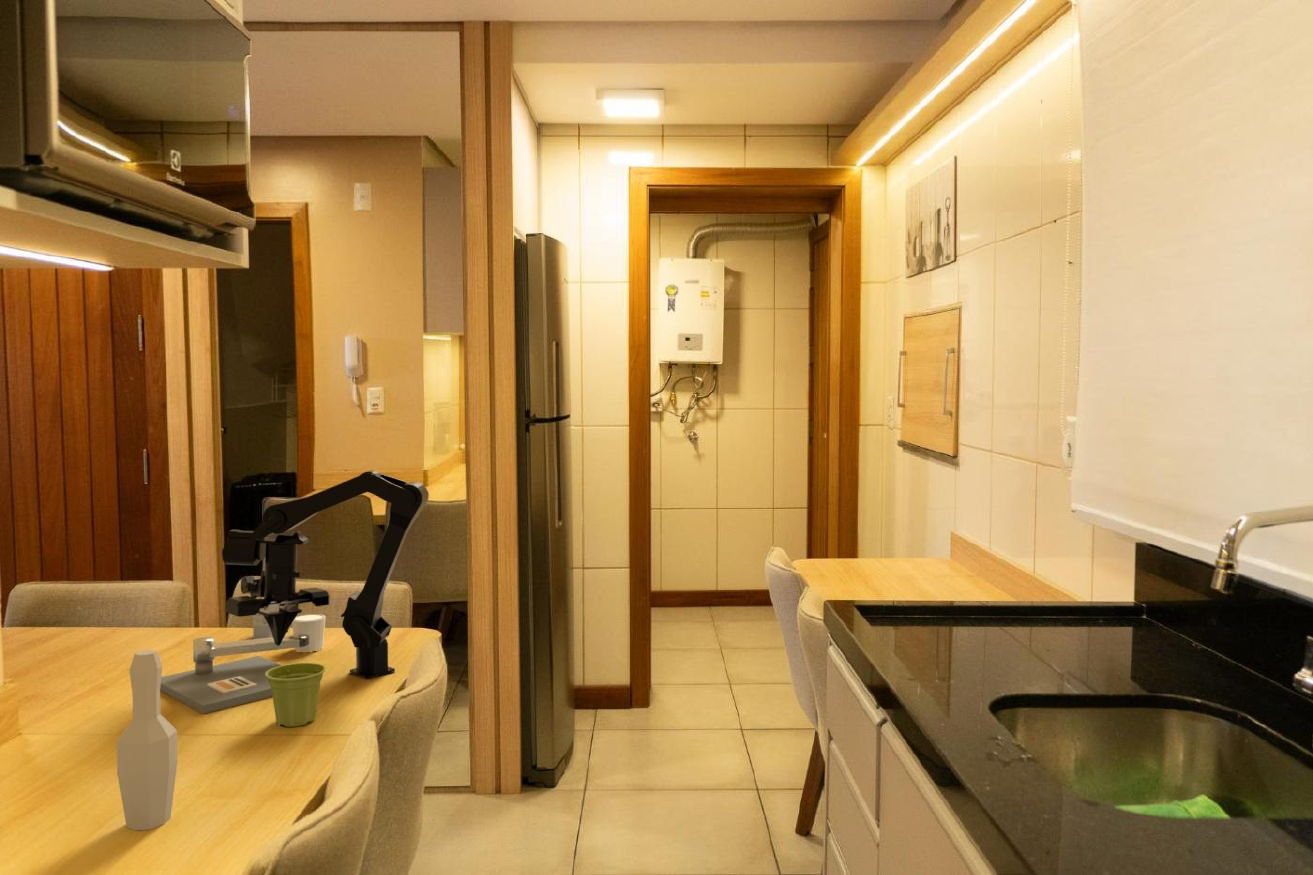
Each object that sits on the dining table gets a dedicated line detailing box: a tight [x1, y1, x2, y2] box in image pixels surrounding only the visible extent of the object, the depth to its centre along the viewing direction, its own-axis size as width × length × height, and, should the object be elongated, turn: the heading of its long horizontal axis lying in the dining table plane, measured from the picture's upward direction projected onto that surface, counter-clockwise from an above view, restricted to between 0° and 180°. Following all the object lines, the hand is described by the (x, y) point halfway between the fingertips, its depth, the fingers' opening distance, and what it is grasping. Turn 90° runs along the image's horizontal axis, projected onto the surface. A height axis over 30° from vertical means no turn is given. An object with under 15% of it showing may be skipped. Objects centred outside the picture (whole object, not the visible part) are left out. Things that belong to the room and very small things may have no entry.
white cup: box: [291, 613, 326, 653], centre depth 191 cm, size 7×7×7 cm
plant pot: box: [265, 662, 326, 728], centre depth 148 cm, size 9×9×9 cm
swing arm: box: [192, 634, 309, 663], centre depth 174 cm, size 21×4×4 cm, turn 117°
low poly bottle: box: [116, 649, 178, 831], centre depth 112 cm, size 6×6×22 cm
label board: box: [160, 655, 282, 715], centre depth 166 cm, size 22×20×4 cm
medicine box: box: [252, 597, 291, 639], centre depth 202 cm, size 8×4×9 cm, turn 172°
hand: (277, 645), depth 173 cm, fingers closed
